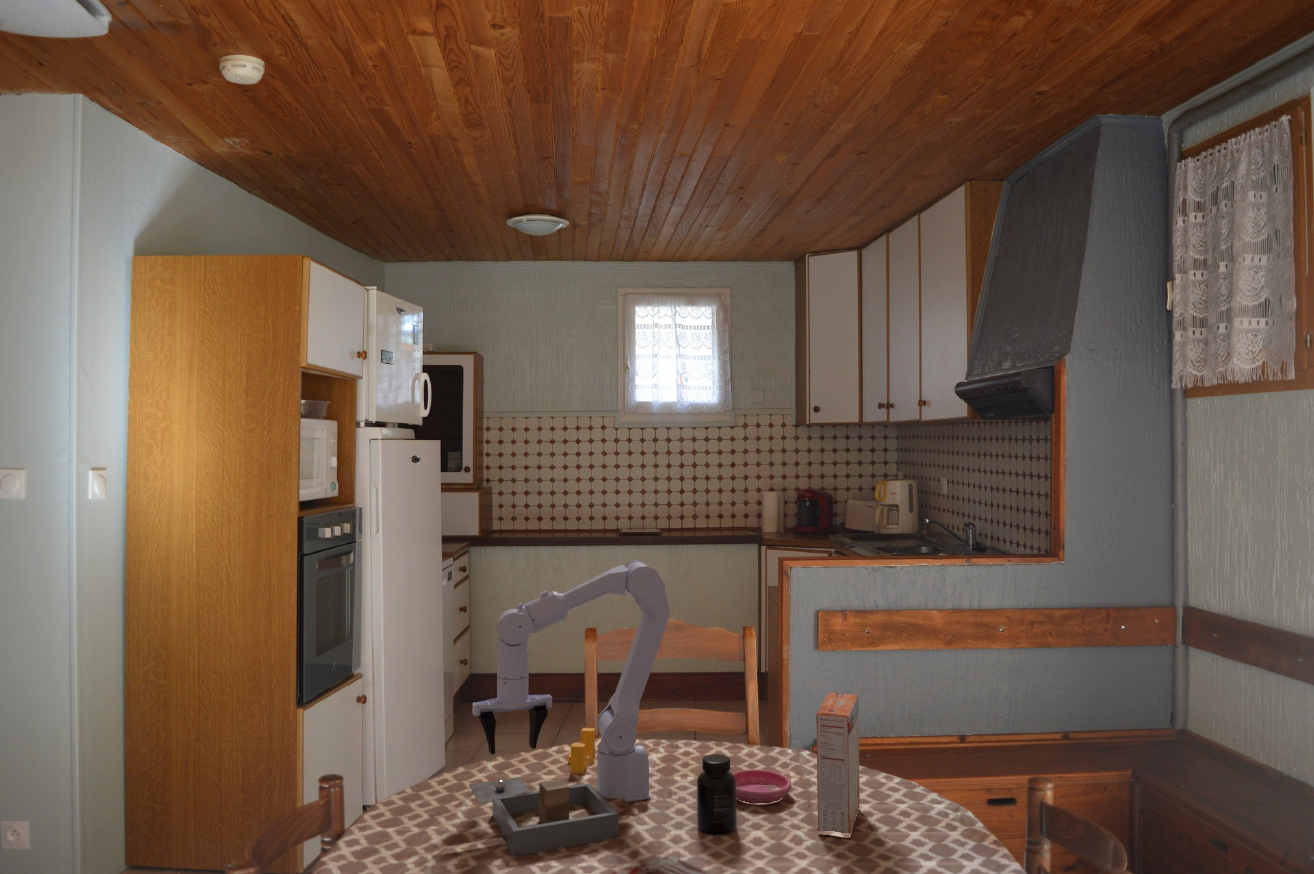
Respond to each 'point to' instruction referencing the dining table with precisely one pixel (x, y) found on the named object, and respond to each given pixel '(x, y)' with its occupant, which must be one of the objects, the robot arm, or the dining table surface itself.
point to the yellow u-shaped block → (583, 751)
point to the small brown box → (553, 801)
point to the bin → (555, 832)
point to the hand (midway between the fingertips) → (512, 749)
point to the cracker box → (838, 762)
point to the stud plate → (491, 790)
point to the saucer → (751, 788)
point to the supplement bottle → (716, 796)
